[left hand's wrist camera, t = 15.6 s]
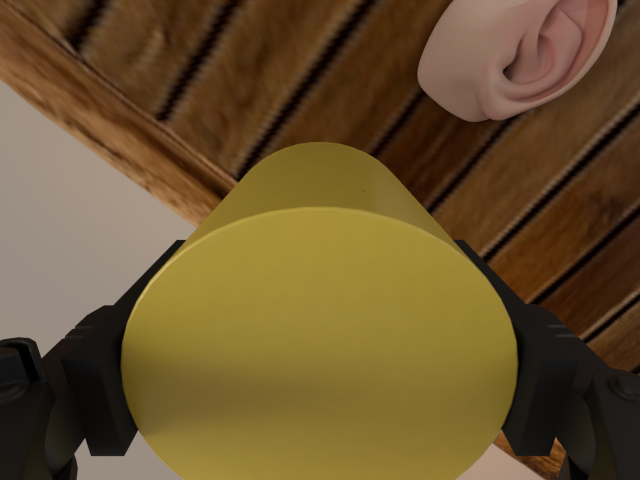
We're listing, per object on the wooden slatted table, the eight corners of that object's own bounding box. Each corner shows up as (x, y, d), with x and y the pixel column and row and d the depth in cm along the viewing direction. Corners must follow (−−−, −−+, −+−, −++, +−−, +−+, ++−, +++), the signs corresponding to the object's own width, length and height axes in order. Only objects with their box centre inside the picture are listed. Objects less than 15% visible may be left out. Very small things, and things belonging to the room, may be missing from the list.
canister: (282, 344, 20) (250, 557, 11) (186, 198, 17) (29, 322, 8) (441, 276, 18) (562, 458, 9) (368, 103, 15) (438, 118, 6)
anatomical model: (418, 114, 30) (460, -61, 25) (407, 111, 33) (442, -42, 29) (575, 139, 30) (642, -26, 26) (548, 134, 34) (602, -12, 30)
